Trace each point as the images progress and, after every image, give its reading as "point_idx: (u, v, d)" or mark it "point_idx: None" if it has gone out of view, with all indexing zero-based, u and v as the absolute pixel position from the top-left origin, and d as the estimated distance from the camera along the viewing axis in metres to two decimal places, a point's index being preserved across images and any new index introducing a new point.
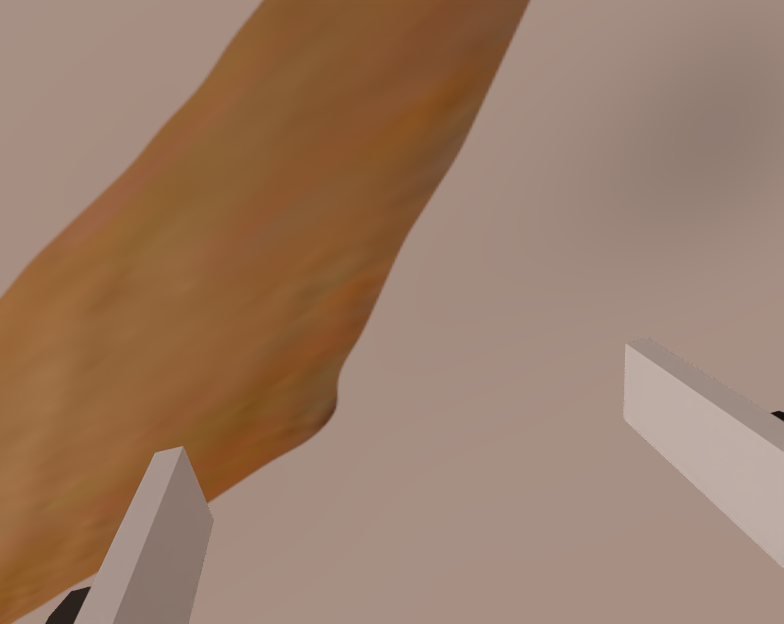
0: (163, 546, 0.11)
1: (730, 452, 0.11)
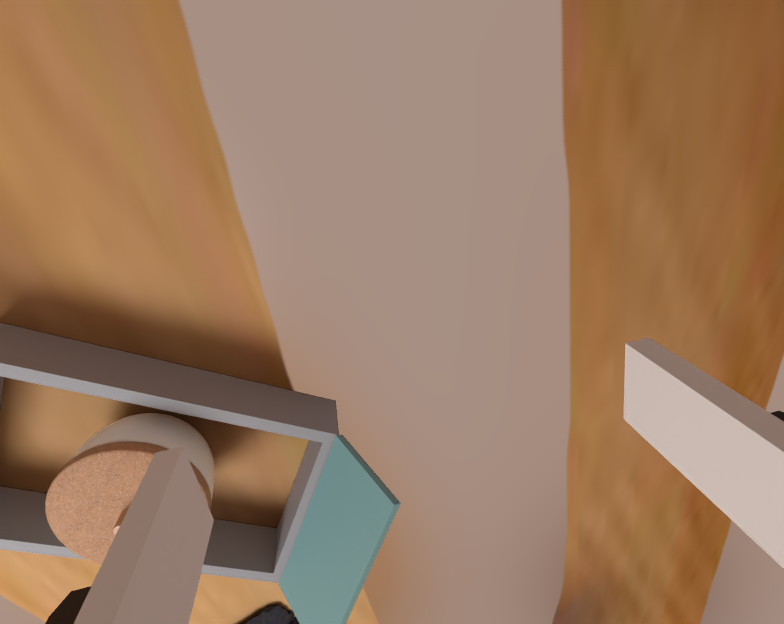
0: (163, 546, 0.11)
1: (730, 452, 0.11)
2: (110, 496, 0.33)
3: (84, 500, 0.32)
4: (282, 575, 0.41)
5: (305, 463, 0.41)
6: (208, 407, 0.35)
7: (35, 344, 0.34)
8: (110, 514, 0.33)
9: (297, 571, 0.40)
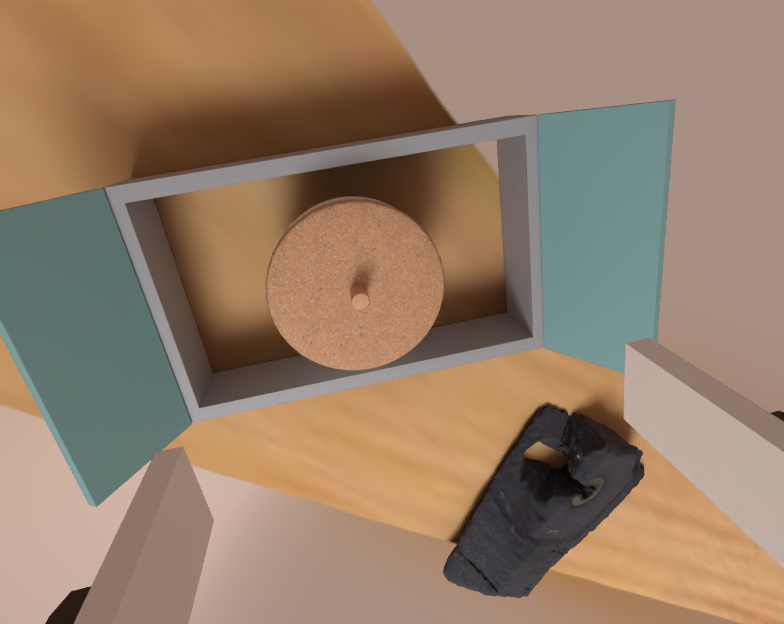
0: (163, 546, 0.11)
1: (730, 452, 0.11)
2: (330, 275, 0.28)
3: (306, 291, 0.28)
4: (544, 335, 0.35)
5: (509, 202, 0.34)
6: (381, 141, 0.28)
7: (177, 172, 0.30)
8: (340, 300, 0.28)
9: (562, 312, 0.33)
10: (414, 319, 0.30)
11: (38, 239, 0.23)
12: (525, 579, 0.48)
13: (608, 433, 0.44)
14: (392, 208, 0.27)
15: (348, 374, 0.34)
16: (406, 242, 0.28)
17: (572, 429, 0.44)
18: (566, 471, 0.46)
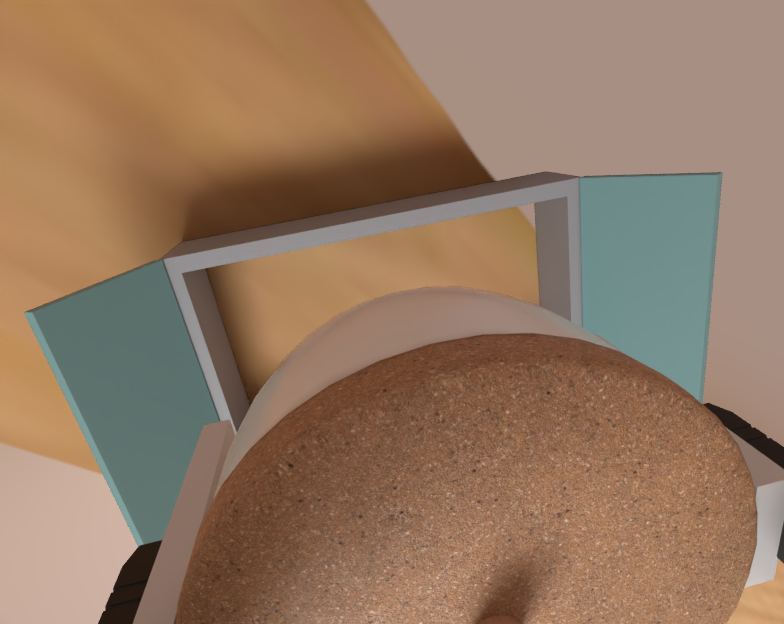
0: None
1: None
2: (407, 604, 0.08)
3: None
4: None
5: (547, 255, 0.35)
6: (428, 207, 0.29)
7: (227, 237, 0.31)
8: None
9: None
10: None
11: (106, 317, 0.24)
12: None
13: None
14: (640, 373, 0.07)
15: None
16: (675, 479, 0.08)
17: None
18: None
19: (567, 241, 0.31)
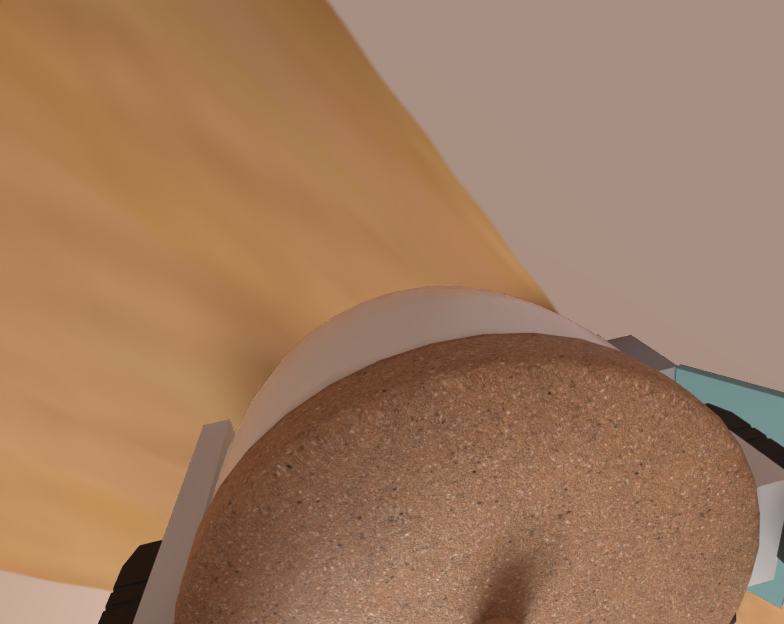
0: None
1: None
2: (406, 606, 0.08)
3: None
4: None
5: None
6: None
7: None
8: None
9: None
10: None
11: None
12: None
13: None
14: (642, 373, 0.07)
15: None
16: (676, 481, 0.08)
17: None
18: None
19: None
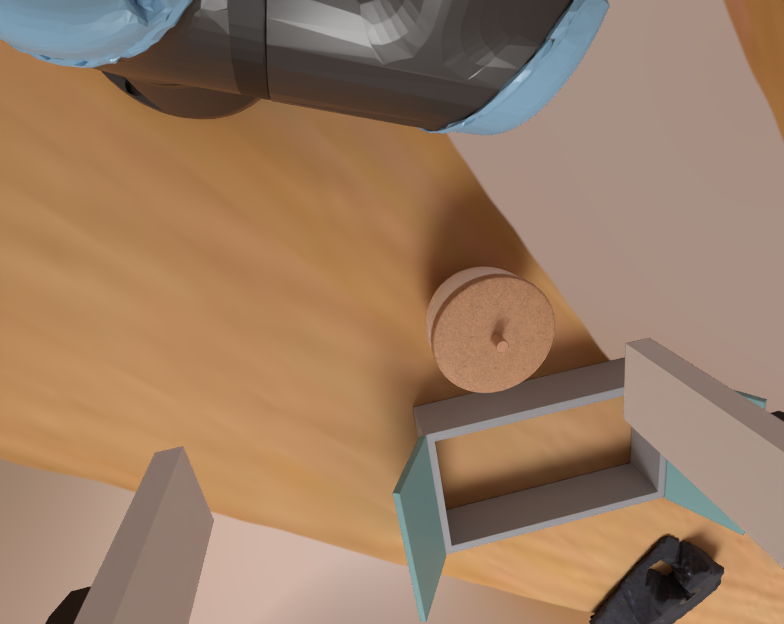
0: (163, 546, 0.11)
1: (730, 452, 0.11)
2: (478, 327, 0.39)
3: (461, 339, 0.39)
4: (665, 490, 0.53)
5: None
6: (581, 397, 0.47)
7: (449, 409, 0.49)
8: (483, 344, 0.40)
9: (681, 482, 0.51)
10: (533, 356, 0.41)
11: (414, 482, 0.42)
12: None
13: (706, 557, 0.64)
14: (523, 280, 0.38)
15: (541, 519, 0.53)
16: (532, 303, 0.39)
17: (683, 552, 0.64)
18: (671, 578, 0.66)
19: None
